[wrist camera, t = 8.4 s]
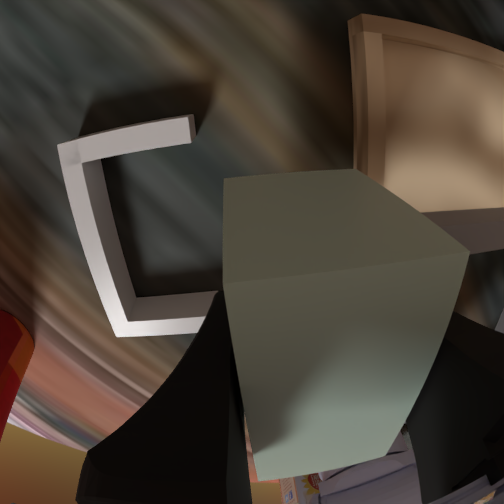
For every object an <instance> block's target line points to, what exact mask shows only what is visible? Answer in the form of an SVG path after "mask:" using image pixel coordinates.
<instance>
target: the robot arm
mask: <svg viewBox="0 0 504 504" xmlns="http://www.w3.org/2000/svg"><path fill="white" fill-rule="evenodd" d="M406 424H407V428H408V431H409V435H410V439H411V443H412V446H413V449H410V450H408V448H407V445H406V443H405V441H404V438H403V436H402V433H401V431H399V433H398V435H397V437H396V438H395V440H394V442H393V444H392V445H391V447H390V449H389V450H388V452H387V453H386V455H385V456H383V457H380V458H376V459H373V460H369V461H366V462H362V463H358V464H354V465H350V466H346V467H342V468H337V469H333V470H328V471H323V472H318V474H319V477H320V479H321V480H322V482H320V483H318V486H319V491H320V493H317V494H314V495H313V496H312V498H311V500H310V501H309V503H308V504H474V503H476V502H477V501H479V500H481V499H482V498H484V497H486V496H487V495H489V494H491V493H492V492H494V491H495V490H496V491H495V493H494V497H493V499H491V500H490V501H488V502H487V503H485V504H504V333H501V332H498V331H496V330H493V329H490V328H488V327H485V326H483V325H481V324H479V323H476V322H474V321H472V320H470V319H468V318H466V317H464V316H462V315H460V314H458V313H456V312H454V311H453V312H452V315H451V318H450V321H449V324H448V327H447V330H446V332H445V335H444V338H443V340H442V343H441V345H440V348H439V350H438V353H437V355H436V358H435V360H434V362H433V365H432V367H431V369H430V372H429V374H428V376H427V378H426V380H425V383H424V385H423V387H422V389H421V391H420V393H419V395H418V397H417V399H416V401H415V403H414V405H413V407H412V409H411V411H410V413H409V415H408V417H407V419H406ZM76 501H77V503H78V504H252V497H251V489H250V479H249V470H248V460H247V450H246V440H245V426H244V406H243V401H242V395H241V390H240V384H239V379H238V373H237V367H236V362H235V356H234V350H233V344H232V338H231V332H230V326H229V320H228V314H227V308H226V302H225V295H224V291H219V292H217V293H216V294H215V295H214V298H213V300H212V303H211V306H210V308H209V310H208V313H207V315H206V317H205V319H204V321H203V323H202V325H201V327H200V329H199V331H198V332H197V334H196V336H195V338H194V340H193V341H192V343H191V345H190V346H189V348H188V349H187V351H186V353H185V354H184V356H183V357H182V359H181V360H180V362H179V363H178V365H177V366H176V367H175V369H174V370H173V372H172V373H171V374H170V375H169V377H168V378H167V379H166V381H165V382H164V383H163V384H162V385H161V386H160V388H159V389H158V390H157V391H156V392H155V393H154V395H153V396H152V397H151V398H150V399H149V400H148V401H147V402H146V403H145V404H144V405H143V406H142V407H141V408H140V409H139V410H138V411H137V412H136V413H135V414H134V415H133V416H132V417H130V418H129V419H128V420H127V421H126V422H125V423H124V424H123V425H122V426H121V427H119V428H118V429H117V430H116V431H115V432H113V433H112V434H111V435H109V436H108V437H107V438H105V439H104V440H103V441H101V442H100V443H99V444H97V445H96V446H95V447H93V448H92V449H90V450H89V451H88V452H87V456H86V458H85V461H84V463H83V466H82V470H81V474H80V479H79V484H78V489H77V494H76ZM11 504H15V503H11Z"/></svg>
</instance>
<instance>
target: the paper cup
mask: <svg viewBox="0 0 504 504" xmlns="http://www.w3.org/2000/svg"><path fill="white" fill-rule="evenodd" d="M33 351H34V342H33V339H32V337H31V335H30V333H29V332H28V330H27V329H26V328H25V326H24V325H23V324H22V323H21V322H20V321H19V320H18V319H17V318H15V317H14V316H13V315H11V314H10V313H8V312H6V311H3V310H0V441H1V438H2V435H3V431H4V428H5V425H6V422H7V419H8V416H9V414H10V411H11V408H12V405H13V402H14V400H15V397H16V394H17V392H18V389H19V387H20V384H21V382H22V379H23V377H24V374H25V372H26V369H27V367H28V364H29V362H30V359H31V357H32V354H33Z"/></svg>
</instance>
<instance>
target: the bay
mask: <svg viewBox="0 0 504 504" xmlns="http://www.w3.org/2000/svg"><path fill="white" fill-rule="evenodd" d="M195 137H196V130H195V121H194V114H190V115H183V116H176V117H170V118H164V119H158V120H152V121H147V122H142V123H137V124H132V125H127V126H122V127H117V128H113V129H109V130H104V131H100V132H96V133H92V134H88V135H84V136H80V137H77V138H74V139H72V140H69V141H66V142H64V143H61V144H58V145H57V147H58V152H59V157H60V162H61V167H62V172H63V176H64V180H65V185H66V189H67V193H68V197H69V201H70V205H71V209H72V212H73V216H74V220H75V223H76V227H77V230H78V233H79V237H80V240H81V243H82V246H83V250H84V253H85V256H86V259H87V262H88V265H89V268H90V271H91V273H92V276H93V279H94V282H95V285H96V287H97V290H98V293H99V295H100V298H101V301H102V303H103V306H104V308H105V311H106V313H107V316H108V318H109V321H110V323H111V325H112V328H113V330H114V332H115V335H116V337H132V336H154V335H171V334H186V333H197V332H198V331H199V329H200V327H201V325H202V323H203V321H204V319H205V317H206V315H207V313H208V310H209V308H210V306H211V303H212V300H213V298H214V295H215V294H216V293H217V292H218V291H208V292H197V293H186V294H175V295H163V296H151V297H138V298H136V295H135V292H134V289H133V285H132V282H131V279H130V276H129V272H128V269H127V266H126V262H125V259H124V255H123V252H122V248H121V245H120V241H119V237H118V233H117V229H116V226H115V222H114V218H113V213H112V209H111V205H110V201H109V196H108V192H107V187H106V183H105V178H104V173H103V168H102V163H101V158H106V157H111V156H116V155H121V154H126V153H131V152H136V151H142V150H148V149H153V148H160V147H166V146H172V145H179V144H186V143H191V142H192V141H193V140H194V138H195Z"/></svg>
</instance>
